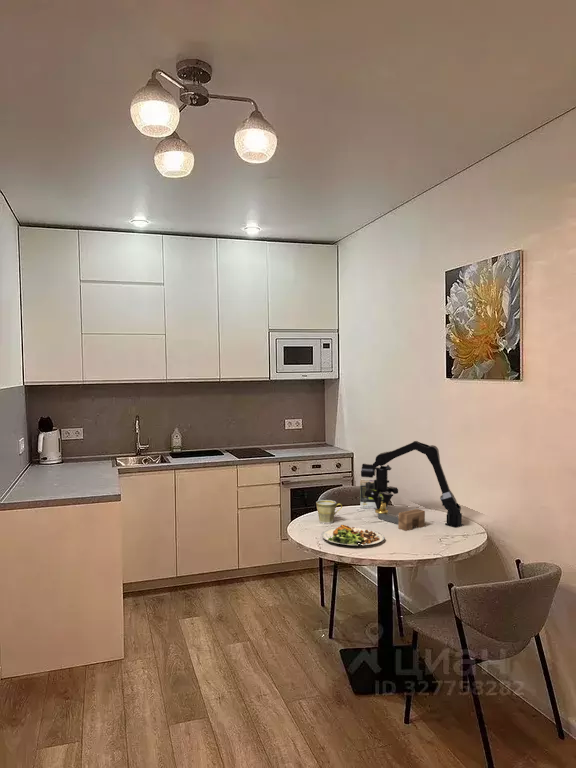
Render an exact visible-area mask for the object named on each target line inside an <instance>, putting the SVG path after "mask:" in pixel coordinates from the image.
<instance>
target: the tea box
mask: <svg viewBox="0 0 576 768" xmlns="http://www.w3.org/2000/svg"><path fill="white" fill-rule="evenodd" d="M374 480H376V478H361V479H360V481H359V484H360V485H359V492H360V493H359V503H360V507H359V508H360V509H377V507H376V504H375V501H374V499H373V498H371V497H367V496H365V491H366V490H368V489H366V483H367V482H370V483H374ZM387 487H389V486H388V484H387ZM374 491H376V490H374ZM380 497H382V499H381V501H382V502H383V496H382V494H380ZM388 509H389V506H388V505H387V507H386V510H388Z"/></svg>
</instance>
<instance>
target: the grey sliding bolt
mask: <svg viewBox="0 0 576 768" xmlns="http://www.w3.org/2000/svg"><path fill="white" fill-rule="evenodd" d="M374 512H375V513H376V514H377V518H378V519H380V520H383V521H386V522H390V523H394V524H396V525H398V523H399V515H397V514H392V513H389V510H388V509H386V502H382V501H381V504H380V509H379V510H378V509H377V508H375V510H374Z"/></svg>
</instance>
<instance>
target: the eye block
mask: <svg viewBox="0 0 576 768" xmlns="http://www.w3.org/2000/svg"><path fill="white" fill-rule="evenodd" d="M398 516H399V523H398V524H397V525H398V529H399V530H402V531H412V530H413V527H414V528H419V529H420V528H425V527H424V526H426V524H425V523H426V522H425V521H426V518H425V517H426V511H425V510H421V509H418V508H416V509H411V510H406V511H400V512H398Z"/></svg>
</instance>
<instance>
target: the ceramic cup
mask: <svg viewBox="0 0 576 768" xmlns="http://www.w3.org/2000/svg"><path fill="white" fill-rule="evenodd" d="M315 505H316V509H317V513H318V514H317V515H318V520H319V523H320V524H322V523H324V524H323V525H326V524H327V525H330V523H331V524H333V523H334V519H335V515H336V514H337V513H338V512H339V511H340V510H341V509H342V508H343V504H342V503H339V502H338V503H337V501H335V500H331V499H320V500H317V501H316V502H315ZM339 505H340V508H339V509H338V510H336V509H337V507H338V506H339Z"/></svg>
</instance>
